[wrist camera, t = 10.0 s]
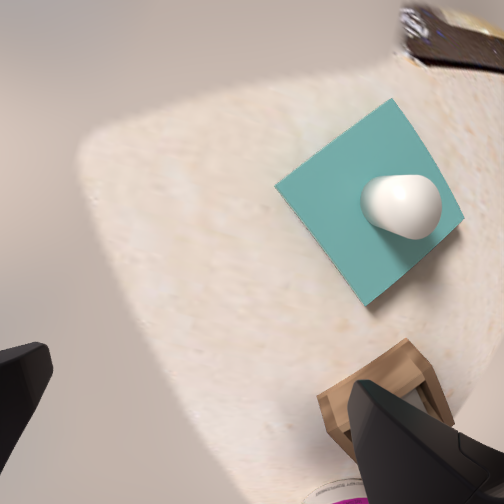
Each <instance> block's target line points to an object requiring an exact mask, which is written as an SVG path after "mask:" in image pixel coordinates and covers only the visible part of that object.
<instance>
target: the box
mask: <svg viewBox="0 0 504 504" xmlns="http://www.w3.org/2000/svg"><path fill="white" fill-rule="evenodd" d="M362 379H369V380H371V381H373V382H374V383H376V384H378V385H379V386H381V387H383V388H384V389H386V390H388V391H389V392H391V393H393V394H394V395H396V396H398V397H399V398H401V399H403V400H405V401H406V402H408V403H410V404H411V405H413V406H415V407H417V408H418V409H420V410H422V411H423V412H425V413H427V414H429V415H430V416H432V417H434V418H436V419H437V420H439V421H441V422H443V423H445V424H446V425H448V426H450V427H452V426H453V425H454V424H455V423H454V420H453V417H452V414H451V412H450V409H449V406H448V404H447V401H446V398H445V396H444V393H443V391H442V388H441V386H440V383H439V381H438V378H437V376H436V374H435V371H434V369H433V367H432V365H431V364H430V363H429V361H428V360H427V359H426V358H425V357H424V356H423V355H422V354H421V353H420V352H419V351H418V350H417V349H416V347H415V346H414V345H413V344H412V343H411V342H410V341H409V340H408V339H407V338H405V339H403V340H402V341H401V342H399V343H398V344H396V345H395V346H394V347H392V348H391V349H389V350H388V351H387V352H385V353H384V354H382V355H381V356H379V357H378V358H377V359H375V360H374V361H372V362H371V363H369V364H368V365H366V366H365V367H363V368H362V369H360V370H358V371H357V372H355V373H354V374H352V375H351V376H349V377H347V378H346V379H344V380H343V381H341V382H339V383H338V384H336V385H334V386H333V387H331V388H329V389H328V390H326V391H324V392H323V393H321V394H319V395H317V399H318V402H319V406H320V409H321V413H322V416H323V420H324V423H325V427H326V430H327V433H328V434H329V435H330V436H331V437H332V438H333V439H334V441H335V442H336V443H337V444H338V445H339V446H340V447H341V448H342V449H343V450H344V451H345V452H346V453H347V454H348V455H349V456H350V457H351V458H352V459H353V460H354V461H355V463H356V464H357V460H356V457H355V453H354V448H353V442H352V435H351V429H350V423H349V417H348V412H347V404H348V400H349V397H350V393H351V390H352V387H353V384H354V382H355V381H356V380H362ZM357 465H358V464H357Z"/></svg>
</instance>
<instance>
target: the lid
mask: <svg viewBox="0 0 504 504" xmlns="http://www.w3.org/2000/svg"><path fill="white" fill-rule="evenodd" d="M274 187H275V188H276V189H277V191H278V192H279V193H280V194H281V196H282V197H283V198H284V199H285V201H286V202H287V203H288V205H289V206H290V207H291V208H292V210H293V211H294V212H295V213H296V215H297V216H298V217H299V219H300V220H301V221H302V223H303V224H304V225H305V226H306V228H307V229H308V230H309V232H310V233H311V234H312V236H313V237H314V238H315V240H316V241H317V242H318V244H319V245H320V246H321V248H322V249H323V250H324V252H325V253H326V254H327V256H328V257H329V258H330V260H331V261H332V262H333V264H334V265H335V266H336V268H337V269H338V271H339V272H340V273H341V275H342V276H343V277H344V279H345V280H346V282H347V283H348V284H349V286H350V287H351V289H352V290H353V291H354V293H355V294H356V296H357V297H358V298H359V300H360V301H361V302H362V303H363V305H364V306H366V305H368V304H369V303H370V302H372V301H373V300H374V299H375V298H376V297H378V296H379V295H380V294H381V293H383V292H384V291H385V290H386V289H387V288H389V287H390V286H391V285H392V284H393V283H395V282H396V281H397V280H398V279H399V278H401V277H402V276H403V275H404V274H405V273H406V272H407V271H409V270H410V269H411V268H412V267H413V266H414V265H415V264H417V263H418V262H419V261H420V260H421V259H422V258H423V257H424V256H425V255H427V254H428V253H429V252H430V251H431V250H432V249H433V248H434V247H435V246H436V245H437V244H438V243H440V242H441V241H442V240H443V239H444V238H445V237H446V236H447V235H448V234H449V233H450V232H451V231H452V230H453V229H454V228H455V227H456V226H457V225H458V224H459V223H460V222H461V221H462V220H463V219H464V216H463V214H462V212H461V210H460V208H459V206H458V204H457V202H456V200H455V198H454V196H453V194H452V192H451V190H450V188H449V186H448V185H447V183H446V181H445V179H444V177H443V176H442V174H441V172H440V170H439V168H438V167H437V165H436V163H435V162H434V160H433V158H432V157H431V155H430V153H429V152H428V150H427V148H426V147H425V145H424V144H423V142H422V141H421V139H420V137H419V136H418V134H417V133H416V131H415V130H414V128H413V127H412V125H411V124H410V122H409V121H408V120H407V118H406V117H405V115H404V114H403V112H402V111H401V110H400V108H399V107H398V105H397V104H396V103H395V101H394V100H393V99H392V98H391V99H389V100H388V101H386V102H384V103H383V104H382V105H380V106H379V107H377V108H376V109H375V110H373V111H372V112H371V113H369V114H368V115H366V116H365V117H364V118H362V119H361V120H360V121H358V122H357V123H356V124H354V125H353V126H351V127H350V128H349V129H347V130H346V131H345V132H343V133H342V134H341V135H339V136H338V137H337V138H335V139H334V140H333V141H331V142H330V143H329V144H327V145H326V146H325V147H323V148H322V149H321V150H319V151H318V152H317V153H316V154H314V155H313V156H312V157H310V158H309V159H308V160H306V161H305V162H304V163H302V164H301V165H300V166H299V167H297V168H296V169H295V170H293V171H292V172H291V173H290V174H288V175H287V176H286V177H284V178H283V179H282V180H281V181H279V182H278V183H277V184H276V185H274Z"/></svg>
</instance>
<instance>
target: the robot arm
mask: <svg viewBox="0 0 504 504" xmlns="http://www.w3.org/2000/svg"><path fill="white" fill-rule="evenodd" d="M52 374H53V365H52V361H51V356H50V352H49V348H48V346H47V345H46V344H43V343H39V342H32V343H29V344H25V345H21V346H18V347H13V348H9V349H6V350H1V351H0V474H1V472H2V470H3V468H4V466H5V464H6V462H7V460H8V459H9V457H10V455H11V453H12V451H13V449H14V447H15V445H16V443H17V442H18V440H19V438H20V436H21V434H22V433H23V431H24V429H25V427H26V426H27V424H28V422H29V420H30V419H31V417H32V415H33V413H34V412H35V410H36V408H37V406H38V404H39V402H40V399H41V397H42V395H43V393H44V391H45V389H46V387H47V385H48V382H49V380H50V378H51V376H52ZM347 412H348V417H349V423H350V429H351V435H352V442H353V448H354V453H355V457H356V460H357V464H358V467H359V471H360V474H361V478H362V481H363V485H364V488H365V492H366V495H367V499H368V503H369V504H504V453H503V452H500V451H498V450H495V449H493V448H490V447H488V446H486V445H484V444H482V443H480V442H478V441H476V440H474V439H472V438H470V437H468V436H466V435H464V434H463V433H461V432H459V433H458V431H457V430H455V429H454V428H452V427H450V426H448V425H446V424H445V423H443V422H441V421H439V420H437V419H436V418H434V417H432V416H430V415H429V414H427V413H425V412H423V411H422V410H420V409H418V408H417V407H415V406H413V405H411V404H410V403H408V402H406V401H405V400H403V399H401V398H399V397H398V396H396V395H394V394H393V393H391V392H389V391H388V390H386V389H384V388H383V387H381V386H379V385H378V384H376V383H374V382H373V381H371V380H369V379H362V380H356V381H355V382H354V384H353V387H352V390H351V393H350V397H349V400H348V404H347Z"/></svg>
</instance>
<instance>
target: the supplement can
mask: <svg viewBox="0 0 504 504" xmlns="http://www.w3.org/2000/svg"><path fill="white" fill-rule="evenodd" d="M302 504H369V503H368V499H367V495H366V492H365V488H364V485H363V481H362V480H359V479H346V480H339V481H335V482H332V483H329V484H326V485H324V486H322V487H319V488H317V489H315V490H314V491H313V492H312V493H310V494H309V495H308V497H307V498H305V499H304V501H303V502H302Z"/></svg>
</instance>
